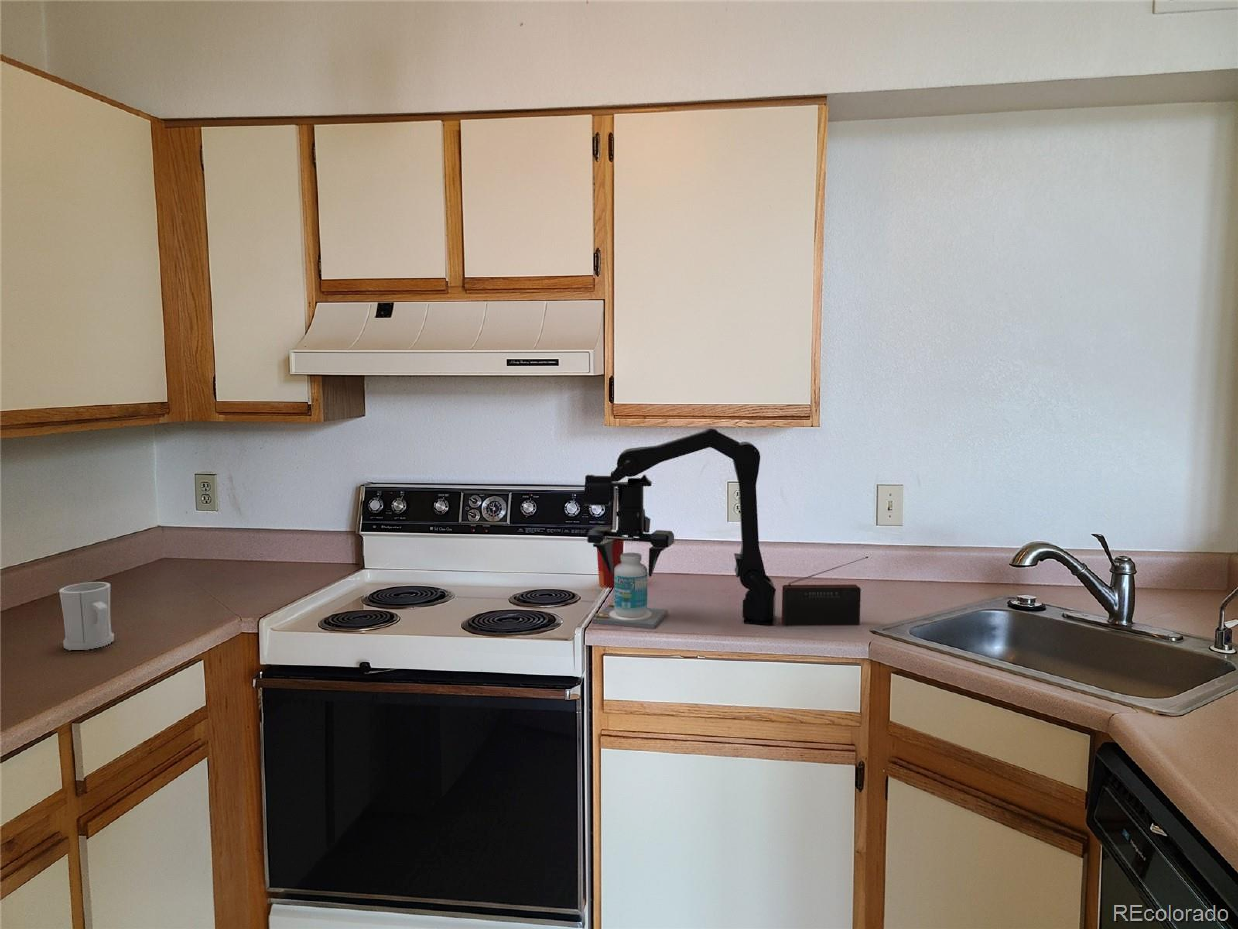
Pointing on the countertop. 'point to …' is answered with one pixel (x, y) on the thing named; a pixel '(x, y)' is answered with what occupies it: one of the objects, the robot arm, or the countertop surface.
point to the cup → (86, 615)
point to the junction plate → (630, 618)
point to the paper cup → (604, 575)
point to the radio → (821, 604)
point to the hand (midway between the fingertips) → (630, 574)
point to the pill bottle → (630, 586)
